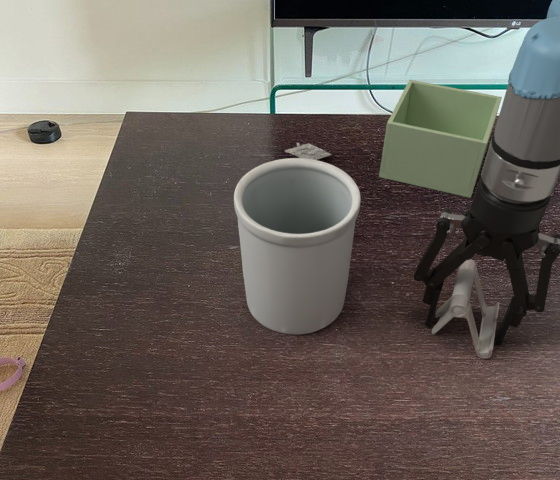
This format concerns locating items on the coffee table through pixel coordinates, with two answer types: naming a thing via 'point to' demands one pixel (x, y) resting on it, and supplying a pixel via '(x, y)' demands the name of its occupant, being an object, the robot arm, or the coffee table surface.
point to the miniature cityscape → (310, 153)
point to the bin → (438, 137)
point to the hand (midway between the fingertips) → (463, 328)
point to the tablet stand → (461, 308)
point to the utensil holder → (296, 242)
